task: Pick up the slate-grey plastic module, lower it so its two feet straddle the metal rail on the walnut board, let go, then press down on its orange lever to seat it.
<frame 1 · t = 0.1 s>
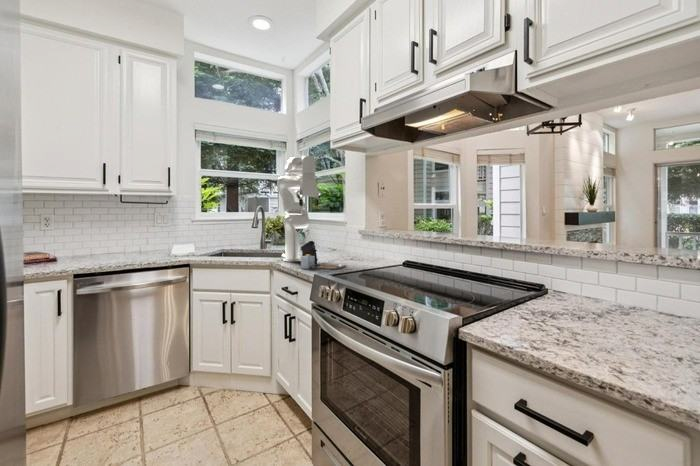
hand: (308, 206, 197), 37 cm above the worktop, tool pointing down, fingers open, 9 cm apart
module: (307, 267, 198), on the worktop
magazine: (308, 263, 215), on the worktop
rail board: (331, 267, 200), on the worktop
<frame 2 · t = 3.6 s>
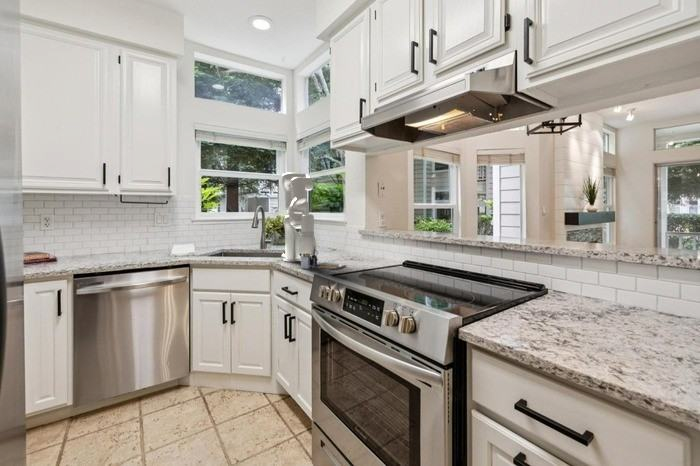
hand: (307, 264, 198), 2 cm above the worktop, tool pointing down, fingers closed on module, 5 cm apart
module: (307, 267, 198), on the worktop, touching gripper
everything else where it was.
when the fingers open (4 cm above the worktop, at t = 10.0 s): module drops 1 cm, resting on rail board.
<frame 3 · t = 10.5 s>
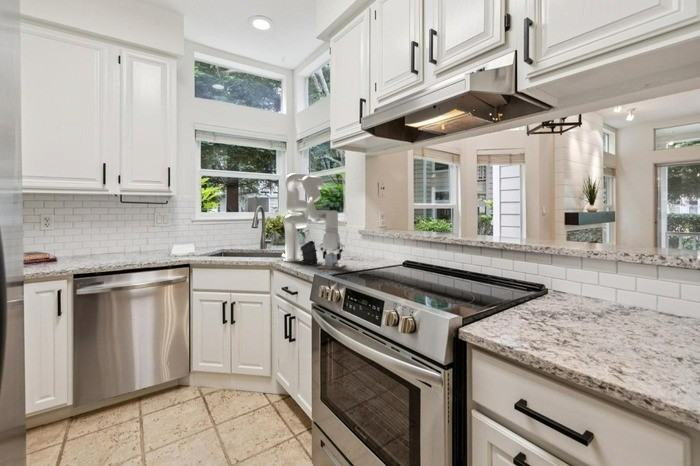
hand: (331, 259, 199), 5 cm above the worktop, tool pointing down, fingers open, 9 cm apart
module: (331, 265, 200), point 1 cm above the worktop, touching rail board
everything else where it was.
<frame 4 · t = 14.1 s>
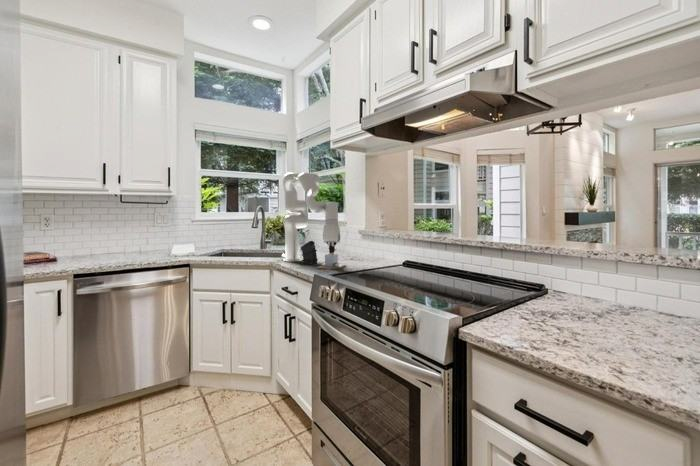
hand: (331, 252, 199), 9 cm above the worktop, tool pointing down, fingers closed
module: (331, 265, 200), point 1 cm above the worktop, touching gripper, rail board
everything else where it was.
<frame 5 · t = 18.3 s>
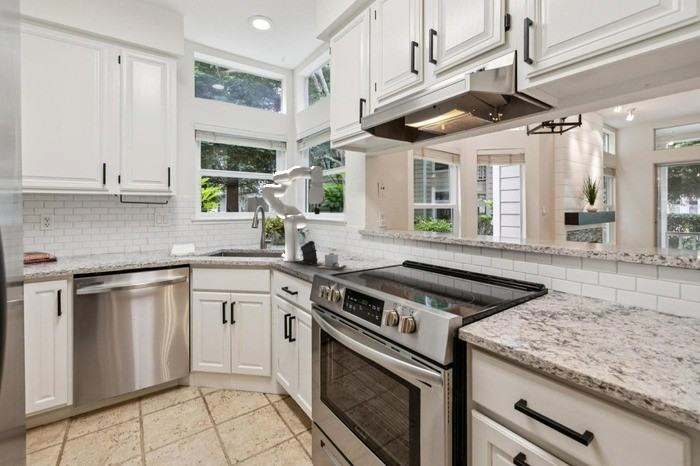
hand: (317, 214, 215), 32 cm above the worktop, tool pointing down, fingers closed
module: (331, 265, 200), point 1 cm above the worktop, touching rail board
everything else where it was.
at the end: module inside the target area on the rail board (0.1 cm from its centre), point 1.0 cm above the rail board's base; module tilted 0°; the gripper is holding nothing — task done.
